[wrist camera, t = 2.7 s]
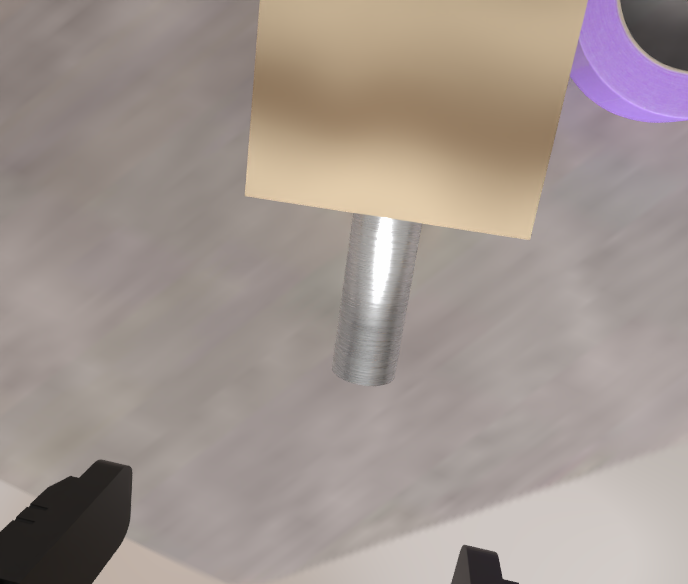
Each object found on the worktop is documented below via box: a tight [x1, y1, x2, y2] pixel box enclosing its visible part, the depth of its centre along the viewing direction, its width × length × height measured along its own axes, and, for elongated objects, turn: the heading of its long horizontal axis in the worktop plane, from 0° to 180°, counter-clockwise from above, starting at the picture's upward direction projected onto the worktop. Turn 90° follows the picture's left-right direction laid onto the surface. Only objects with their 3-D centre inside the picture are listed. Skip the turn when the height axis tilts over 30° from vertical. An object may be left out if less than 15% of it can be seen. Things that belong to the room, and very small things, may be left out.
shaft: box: [332, 213, 422, 386], centre depth 22 cm, size 19×3×3 cm, turn 173°
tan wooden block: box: [245, 0, 588, 240], centre depth 23 cm, size 8×10×12 cm
